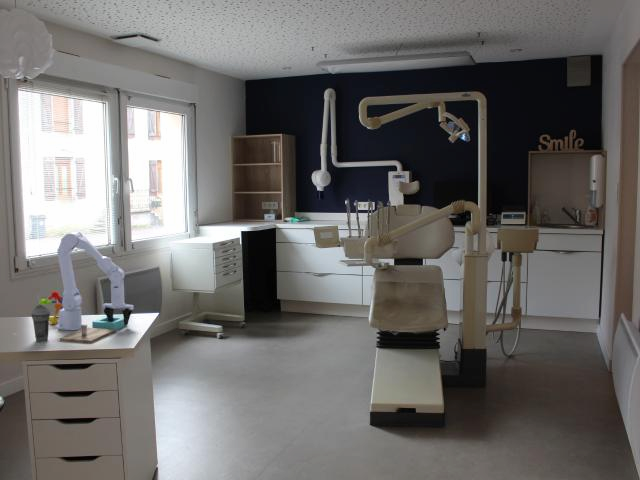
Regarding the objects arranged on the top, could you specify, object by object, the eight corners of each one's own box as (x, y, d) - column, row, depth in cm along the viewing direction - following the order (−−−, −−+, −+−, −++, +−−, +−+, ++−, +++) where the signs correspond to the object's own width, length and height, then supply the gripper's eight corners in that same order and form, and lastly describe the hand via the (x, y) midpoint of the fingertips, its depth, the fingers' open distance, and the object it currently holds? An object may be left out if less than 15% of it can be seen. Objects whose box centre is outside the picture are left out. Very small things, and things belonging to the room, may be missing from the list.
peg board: (59, 341, 270) (59, 327, 269) (86, 330, 288) (85, 317, 287) (91, 343, 266) (90, 330, 266) (115, 332, 285) (115, 319, 284)
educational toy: (77, 321, 308) (78, 291, 305) (56, 328, 296) (57, 296, 294) (54, 315, 314) (55, 286, 312) (32, 321, 302) (33, 290, 300)
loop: (92, 329, 290) (92, 321, 289) (106, 323, 300) (105, 316, 300) (114, 330, 287) (113, 323, 287) (127, 325, 298) (126, 317, 297)
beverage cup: (39, 344, 265) (37, 296, 263) (28, 341, 269) (26, 294, 267) (54, 340, 271) (52, 293, 269) (44, 337, 275) (42, 292, 273)
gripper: (98, 296, 289) (99, 325, 290) (127, 297, 285) (128, 327, 287) (107, 293, 295) (108, 321, 297) (135, 294, 292) (136, 323, 294)
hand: (118, 324), depth 292 cm, fingers open, 7 cm apart
